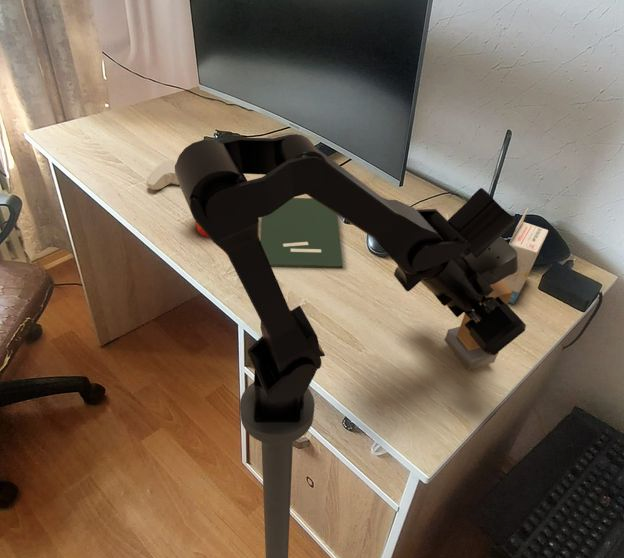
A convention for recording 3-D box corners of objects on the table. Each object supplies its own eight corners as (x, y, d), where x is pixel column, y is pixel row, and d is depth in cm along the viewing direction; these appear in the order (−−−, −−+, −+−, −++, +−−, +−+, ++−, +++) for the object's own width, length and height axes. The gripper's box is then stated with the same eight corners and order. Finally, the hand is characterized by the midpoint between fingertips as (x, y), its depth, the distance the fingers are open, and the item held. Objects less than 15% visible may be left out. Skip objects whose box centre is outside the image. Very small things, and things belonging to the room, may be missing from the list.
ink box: (514, 305, 95) (544, 237, 84) (487, 295, 97) (514, 227, 86) (526, 281, 100) (556, 214, 90) (500, 271, 102) (527, 205, 91)
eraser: (467, 370, 82) (494, 306, 72) (444, 340, 86) (466, 276, 76) (493, 362, 83) (523, 299, 74) (469, 333, 88) (494, 269, 78)
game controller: (140, 180, 112) (158, 151, 117) (146, 196, 116) (163, 167, 121) (203, 191, 110) (219, 161, 115) (207, 207, 114) (222, 177, 119)
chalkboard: (342, 268, 100) (342, 265, 100) (259, 266, 99) (259, 263, 99) (335, 201, 116) (335, 198, 116) (263, 199, 116) (263, 196, 115)
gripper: (541, 274, 60) (575, 322, 72) (454, 193, 72) (495, 245, 83) (465, 337, 64) (509, 373, 75) (394, 250, 75) (441, 293, 87)
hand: (489, 317), depth 80 cm, fingers closed on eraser, 3 cm apart
